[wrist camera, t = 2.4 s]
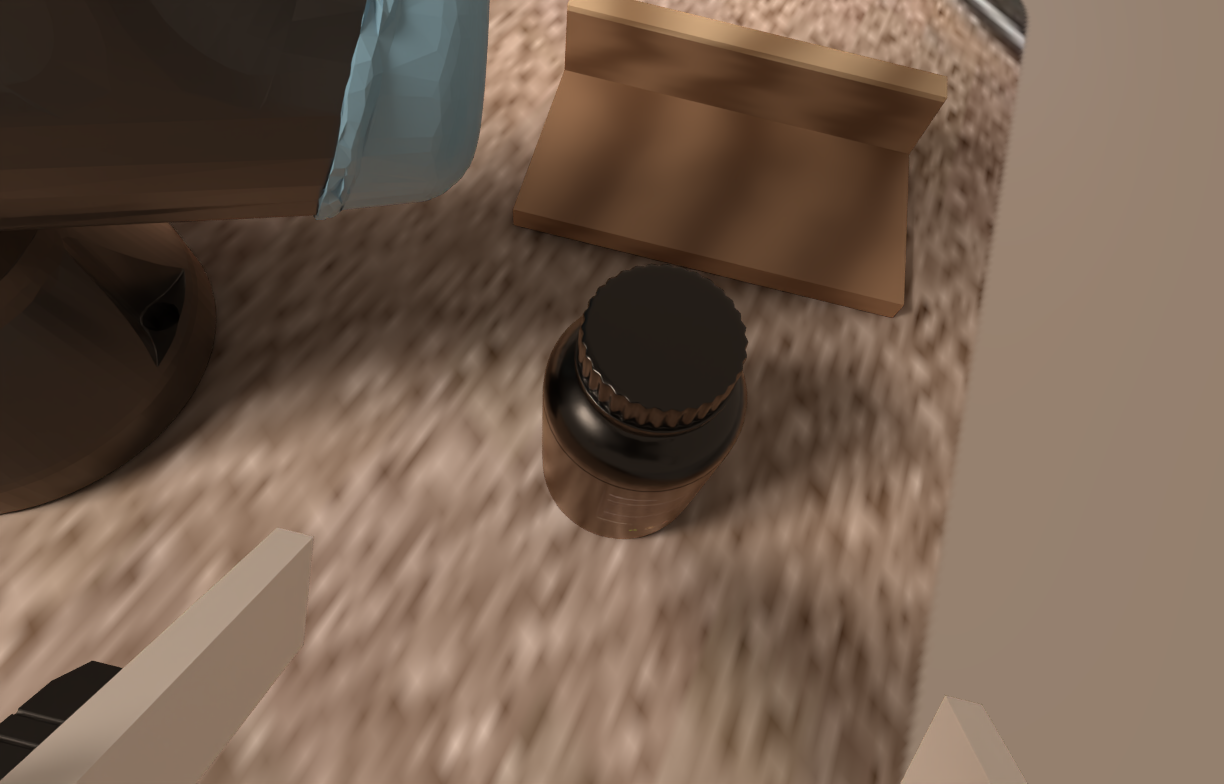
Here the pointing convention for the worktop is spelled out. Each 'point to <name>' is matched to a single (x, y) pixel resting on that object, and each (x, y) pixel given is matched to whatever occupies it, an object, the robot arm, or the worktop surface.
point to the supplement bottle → (642, 400)
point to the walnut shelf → (731, 152)
